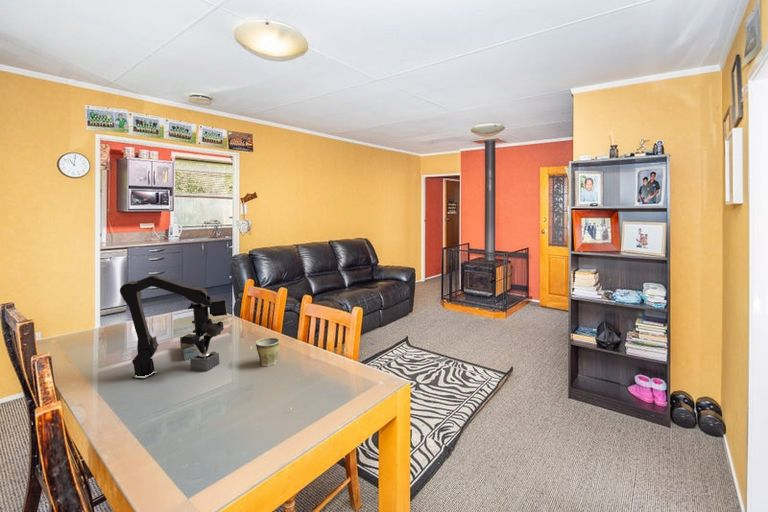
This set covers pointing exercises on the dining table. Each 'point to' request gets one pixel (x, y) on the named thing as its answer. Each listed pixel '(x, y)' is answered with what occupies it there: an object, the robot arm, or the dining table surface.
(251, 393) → the dining table surface
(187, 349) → the beverage carton
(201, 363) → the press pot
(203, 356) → the plunger
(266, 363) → the ceramic cup
